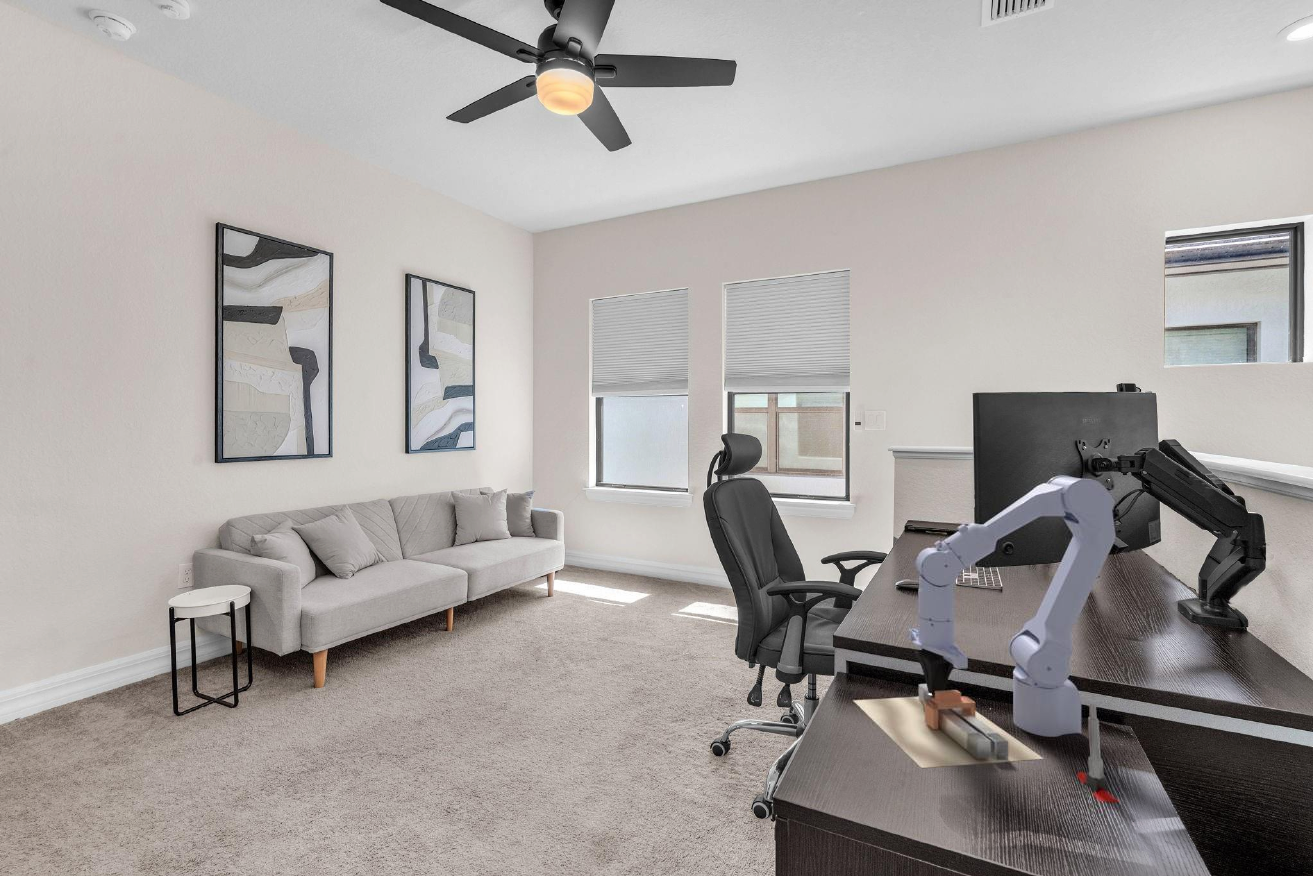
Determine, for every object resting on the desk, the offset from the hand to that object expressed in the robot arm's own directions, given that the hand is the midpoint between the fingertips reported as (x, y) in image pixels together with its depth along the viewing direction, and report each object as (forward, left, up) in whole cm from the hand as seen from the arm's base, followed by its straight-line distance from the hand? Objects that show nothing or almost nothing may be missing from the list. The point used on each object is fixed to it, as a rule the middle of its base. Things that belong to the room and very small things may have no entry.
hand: (936, 693), depth 104 cm
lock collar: (0, +4, -3) cm, 5 cm away
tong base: (-1, +4, -4) cm, 6 cm away
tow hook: (-6, +22, -5) cm, 24 cm away
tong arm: (+1, +8, -3) cm, 9 cm away
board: (+2, +4, -5) cm, 7 cm away
